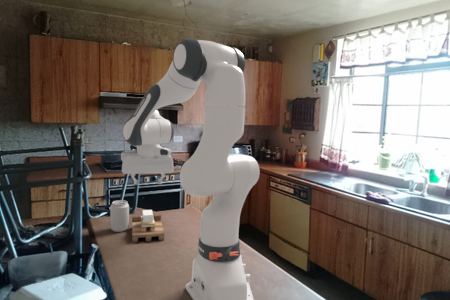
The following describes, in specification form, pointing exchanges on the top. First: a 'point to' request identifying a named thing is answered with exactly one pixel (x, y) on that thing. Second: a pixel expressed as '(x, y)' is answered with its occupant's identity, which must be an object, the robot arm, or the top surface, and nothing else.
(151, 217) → the white rectangular block
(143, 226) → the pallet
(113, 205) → the can
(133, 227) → the dock
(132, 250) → the top surface
